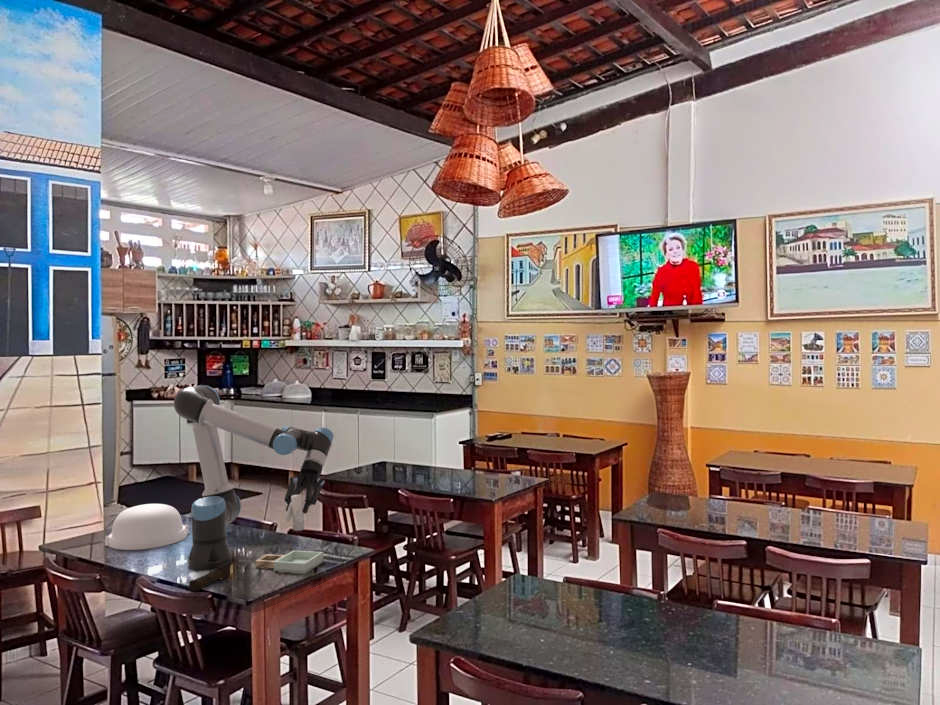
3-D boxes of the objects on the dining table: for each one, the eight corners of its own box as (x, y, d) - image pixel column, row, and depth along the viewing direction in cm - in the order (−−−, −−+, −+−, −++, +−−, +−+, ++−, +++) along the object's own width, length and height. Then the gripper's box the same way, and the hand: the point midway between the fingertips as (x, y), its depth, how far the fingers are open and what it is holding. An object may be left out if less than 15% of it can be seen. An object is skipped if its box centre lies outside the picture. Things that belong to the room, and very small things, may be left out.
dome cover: (182, 526, 328) (181, 494, 328) (195, 541, 302) (194, 507, 302) (102, 538, 312) (100, 504, 312) (108, 555, 286) (107, 518, 286)
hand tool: (198, 593, 240) (198, 578, 240) (188, 591, 242) (188, 577, 242) (236, 575, 258) (236, 561, 258) (227, 574, 260) (226, 560, 260)
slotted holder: (255, 567, 265) (255, 560, 265) (267, 561, 273) (267, 554, 273) (275, 569, 263) (275, 561, 263) (286, 562, 271) (286, 555, 270)
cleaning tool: (290, 530, 263) (289, 497, 263) (296, 527, 267) (294, 494, 266) (301, 530, 262) (299, 497, 262) (306, 527, 266) (304, 494, 265)
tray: (273, 571, 260) (273, 561, 260) (293, 559, 273) (293, 550, 273) (305, 573, 257) (304, 563, 256) (323, 561, 270) (323, 552, 270)
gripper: (337, 471, 277) (319, 526, 261) (296, 470, 281) (275, 525, 266) (330, 459, 272) (311, 515, 256) (288, 458, 276) (266, 513, 260)
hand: (293, 520), depth 261 cm, fingers closed on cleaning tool, 4 cm apart
